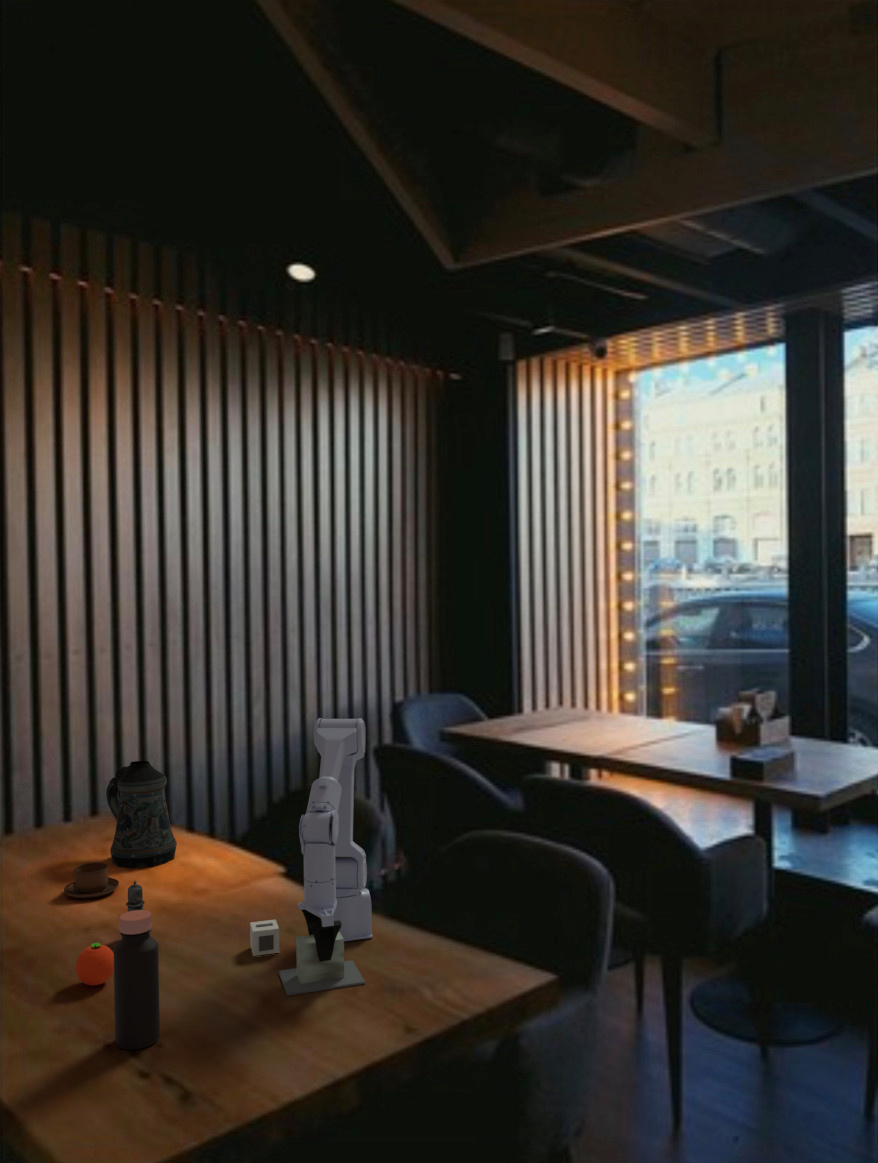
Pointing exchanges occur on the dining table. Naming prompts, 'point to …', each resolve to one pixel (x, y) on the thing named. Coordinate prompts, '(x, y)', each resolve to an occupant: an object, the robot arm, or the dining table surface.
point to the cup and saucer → (91, 881)
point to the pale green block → (310, 964)
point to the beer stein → (140, 817)
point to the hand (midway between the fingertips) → (320, 952)
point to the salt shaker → (135, 897)
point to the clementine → (95, 964)
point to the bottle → (136, 982)
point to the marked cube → (264, 937)
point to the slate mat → (294, 986)
